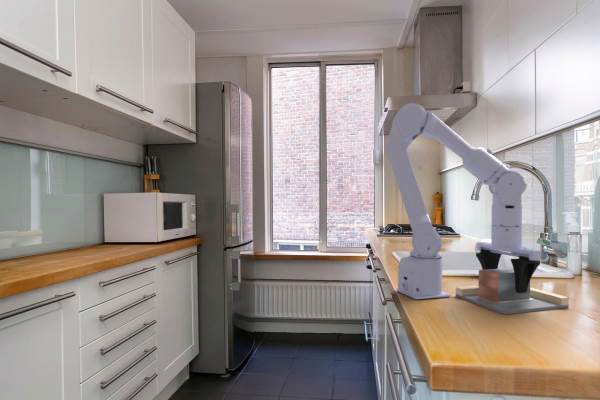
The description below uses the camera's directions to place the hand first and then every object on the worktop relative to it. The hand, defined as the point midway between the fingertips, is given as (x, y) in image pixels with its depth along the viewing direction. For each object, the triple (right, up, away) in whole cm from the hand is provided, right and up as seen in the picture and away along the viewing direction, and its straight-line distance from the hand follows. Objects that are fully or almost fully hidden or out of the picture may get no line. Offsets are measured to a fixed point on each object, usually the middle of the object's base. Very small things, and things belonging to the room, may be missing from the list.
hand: (505, 287), depth 75 cm
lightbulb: (+10, -3, +25) cm, 27 cm away
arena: (+1, -3, 0) cm, 3 cm away
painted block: (0, -2, 0) cm, 2 cm away
